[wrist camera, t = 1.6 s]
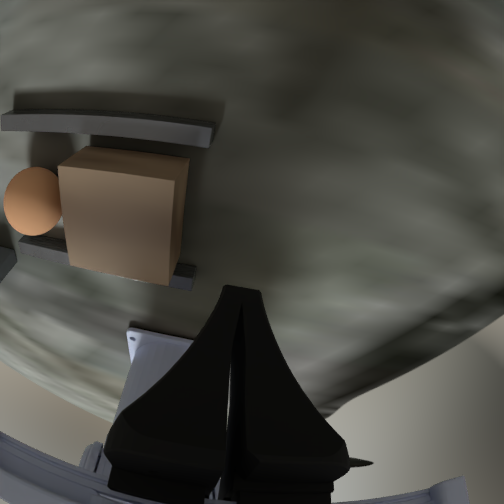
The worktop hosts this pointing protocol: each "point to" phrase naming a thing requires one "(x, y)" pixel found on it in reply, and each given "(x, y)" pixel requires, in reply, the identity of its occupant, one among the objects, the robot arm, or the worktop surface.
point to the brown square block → (124, 211)
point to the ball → (33, 201)
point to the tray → (6, 261)
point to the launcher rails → (110, 126)
